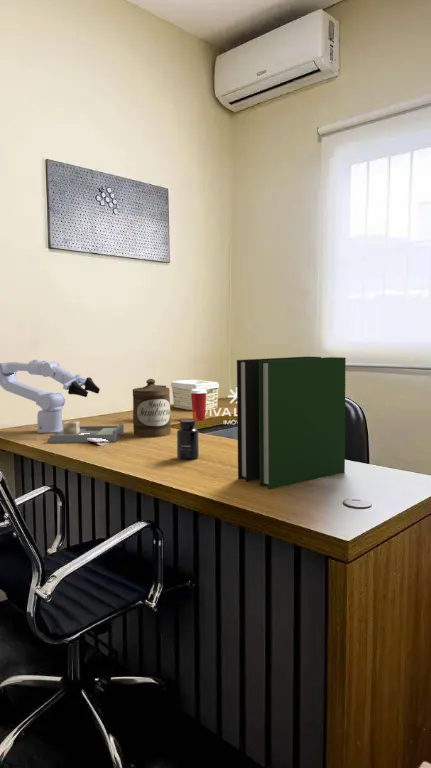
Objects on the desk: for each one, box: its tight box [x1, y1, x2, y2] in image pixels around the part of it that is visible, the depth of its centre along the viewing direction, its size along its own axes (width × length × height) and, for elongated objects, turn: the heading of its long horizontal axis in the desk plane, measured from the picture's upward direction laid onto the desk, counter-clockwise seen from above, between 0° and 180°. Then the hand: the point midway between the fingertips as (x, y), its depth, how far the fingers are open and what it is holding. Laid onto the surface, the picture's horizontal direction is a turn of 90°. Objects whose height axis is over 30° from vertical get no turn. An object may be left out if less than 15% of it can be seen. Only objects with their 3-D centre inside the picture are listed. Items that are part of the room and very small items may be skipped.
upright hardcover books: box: [236, 356, 346, 490], centre depth 145 cm, size 27×15×32 cm, turn 126°
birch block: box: [62, 420, 81, 434], centre depth 206 cm, size 5×5×4 cm
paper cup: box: [190, 389, 207, 422], centre depth 246 cm, size 8×8×14 cm
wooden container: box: [132, 378, 172, 438], centre depth 211 cm, size 15×15×22 cm
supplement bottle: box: [176, 419, 200, 461], centre depth 168 cm, size 7×7×12 cm
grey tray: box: [49, 422, 125, 444], centre depth 206 cm, size 24×20×4 cm
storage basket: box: [170, 379, 220, 411], centre depth 285 cm, size 24×16×15 cm
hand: (92, 393), depth 212 cm, fingers open, 7 cm apart
